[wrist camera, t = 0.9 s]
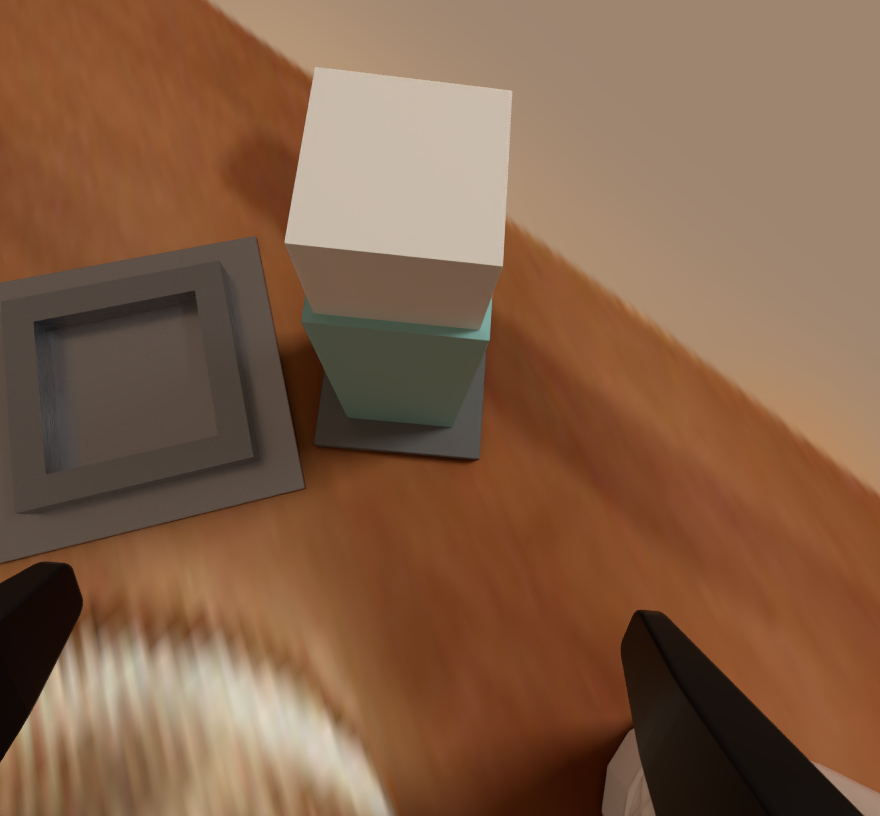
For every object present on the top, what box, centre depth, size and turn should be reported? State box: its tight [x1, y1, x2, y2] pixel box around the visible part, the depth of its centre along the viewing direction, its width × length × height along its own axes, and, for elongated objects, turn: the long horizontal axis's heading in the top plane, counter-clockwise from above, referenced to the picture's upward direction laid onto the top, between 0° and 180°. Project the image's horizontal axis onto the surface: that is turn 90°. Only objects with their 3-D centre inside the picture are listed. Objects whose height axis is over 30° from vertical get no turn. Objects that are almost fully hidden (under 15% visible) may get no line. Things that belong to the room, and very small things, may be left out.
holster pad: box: [314, 350, 486, 460], centre depth 23 cm, size 7×7×1 cm
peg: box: [285, 67, 512, 427], centre depth 16 cm, size 4×4×13 cm
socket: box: [0, 236, 306, 564], centre depth 21 cm, size 12×12×1 cm
